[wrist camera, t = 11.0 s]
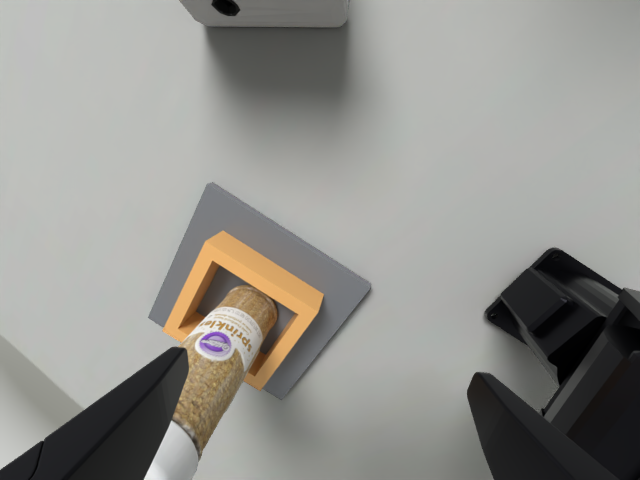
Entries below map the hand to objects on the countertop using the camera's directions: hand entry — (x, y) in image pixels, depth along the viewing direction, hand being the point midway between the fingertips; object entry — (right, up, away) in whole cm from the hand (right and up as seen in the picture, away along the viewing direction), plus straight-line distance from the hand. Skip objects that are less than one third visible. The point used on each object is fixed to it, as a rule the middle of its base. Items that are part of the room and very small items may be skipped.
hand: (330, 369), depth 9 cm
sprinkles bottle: (-6, -1, +15) cm, 16 cm away
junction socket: (-6, -1, +15) cm, 17 cm away
